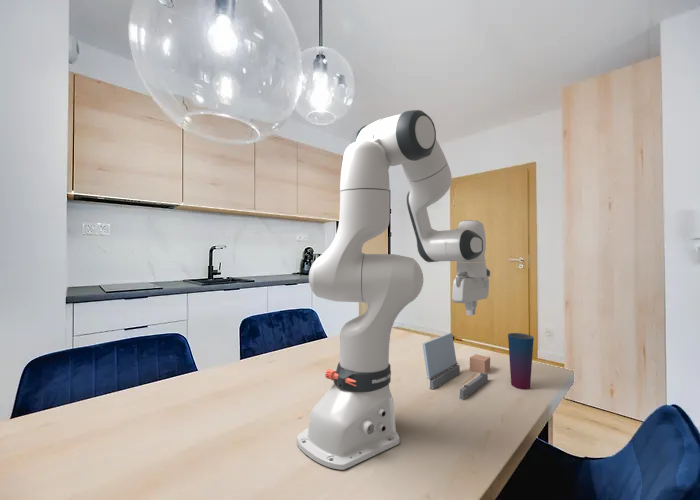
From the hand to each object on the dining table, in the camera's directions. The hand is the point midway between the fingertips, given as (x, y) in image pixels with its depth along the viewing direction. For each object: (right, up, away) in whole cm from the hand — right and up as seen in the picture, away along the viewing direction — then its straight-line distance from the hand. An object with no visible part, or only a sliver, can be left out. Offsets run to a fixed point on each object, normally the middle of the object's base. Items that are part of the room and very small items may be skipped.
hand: (470, 315), depth 101 cm
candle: (-9, -20, +11) cm, 24 cm away
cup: (+12, -20, -6) cm, 24 cm away
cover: (-10, -12, -2) cm, 16 cm away
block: (+5, -20, +6) cm, 22 cm away
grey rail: (-6, -20, -6) cm, 21 cm away
